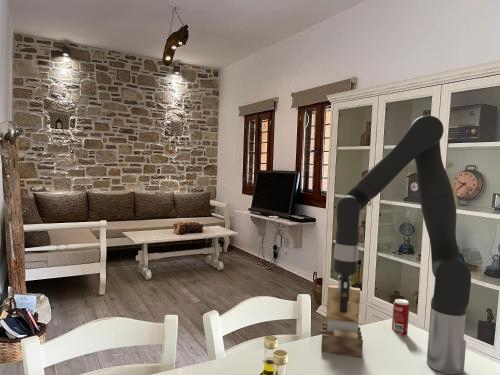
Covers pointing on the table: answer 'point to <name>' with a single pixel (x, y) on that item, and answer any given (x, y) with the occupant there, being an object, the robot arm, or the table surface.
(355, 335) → the offcut pine
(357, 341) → the rack
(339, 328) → the offcut grey
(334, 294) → the tall sheet
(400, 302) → the soda can
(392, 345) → the table surface
